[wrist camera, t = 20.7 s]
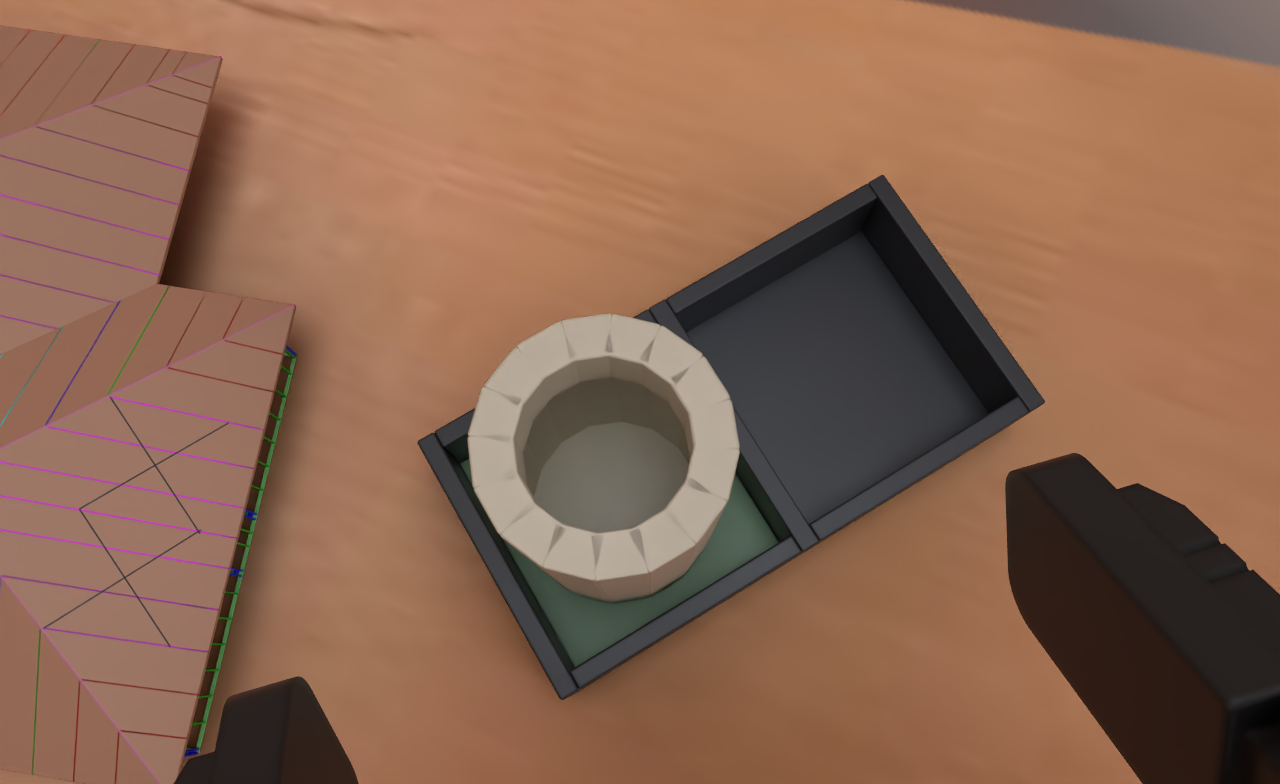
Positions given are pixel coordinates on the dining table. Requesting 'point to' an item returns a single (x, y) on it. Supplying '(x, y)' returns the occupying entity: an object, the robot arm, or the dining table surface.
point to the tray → (786, 416)
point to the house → (115, 413)
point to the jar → (605, 454)
